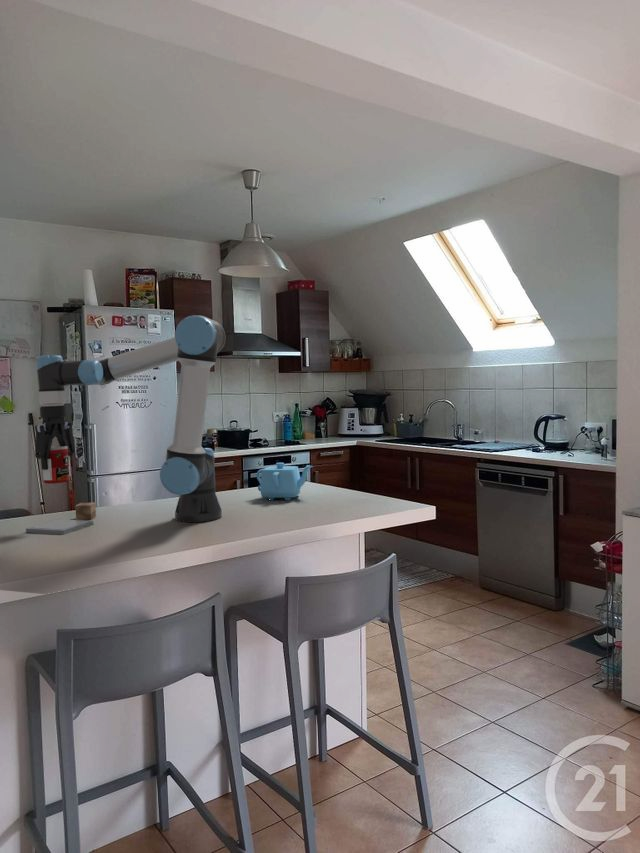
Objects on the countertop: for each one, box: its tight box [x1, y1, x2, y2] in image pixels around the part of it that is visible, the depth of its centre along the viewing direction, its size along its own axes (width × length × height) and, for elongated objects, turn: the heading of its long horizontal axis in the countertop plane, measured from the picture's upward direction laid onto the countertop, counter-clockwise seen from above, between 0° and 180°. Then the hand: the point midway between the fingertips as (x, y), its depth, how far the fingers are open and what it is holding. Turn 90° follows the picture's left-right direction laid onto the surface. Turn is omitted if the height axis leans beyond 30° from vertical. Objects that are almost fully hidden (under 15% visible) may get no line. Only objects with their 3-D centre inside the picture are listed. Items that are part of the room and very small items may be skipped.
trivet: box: [25, 518, 95, 535], centre depth 209 cm, size 14×14×1 cm
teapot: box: [255, 462, 313, 501], centre depth 252 cm, size 18×16×14 cm
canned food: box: [43, 445, 71, 485], centre depth 209 cm, size 8×8×11 cm
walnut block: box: [74, 501, 97, 521], centre depth 223 cm, size 5×5×5 cm
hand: (57, 477), depth 209 cm, fingers closed on canned food, 8 cm apart
